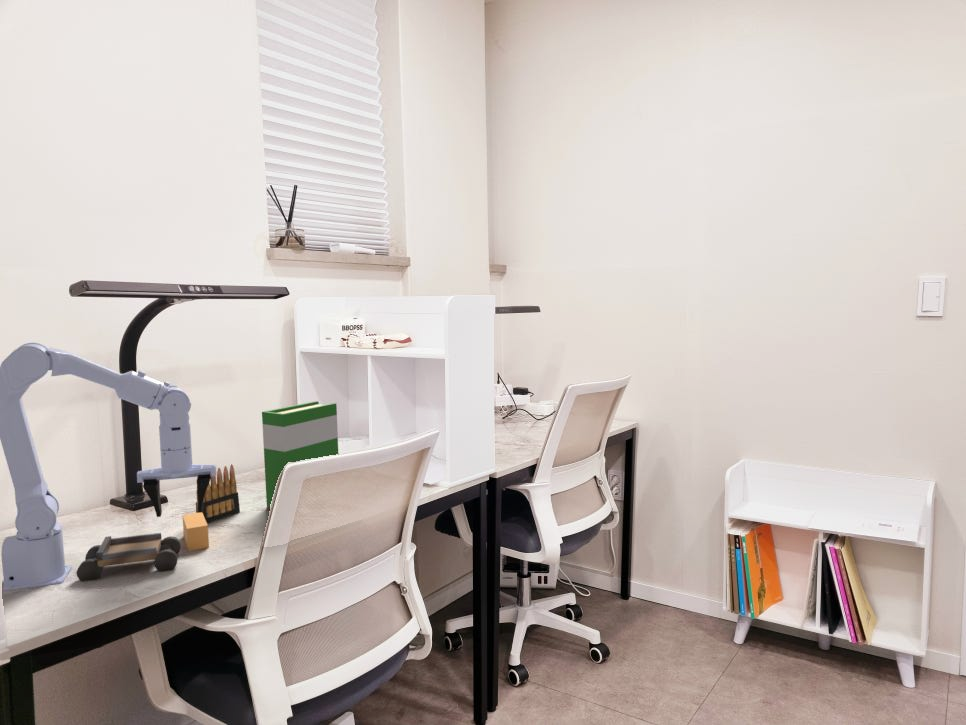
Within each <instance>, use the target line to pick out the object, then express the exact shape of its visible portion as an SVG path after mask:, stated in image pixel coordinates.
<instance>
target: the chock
mask: <svg viewBox="0 0 966 725" xmlns="http://www.w3.org/2000/svg"><path fill="white" fill-rule="evenodd" d="M182 525H183V526H182V527H183V538H184V542H185V544H186V547H187V550H188V552H189V551H195V550H201V549H202V550H203V549H207V548H210V541H209V540H210V538H209V525H208V523H207V522H206V520H205V518H204V515H203V513H202V512H201V513H196V512H193V513H188V514H187V513H186V514H182Z"/></svg>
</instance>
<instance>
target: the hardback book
mask: <svg viewBox="0 0 966 725" xmlns="http://www.w3.org/2000/svg"><path fill="white" fill-rule="evenodd" d="M337 413H338V406H337V403H336V402H333V403H327V404H320V403H319V401H317V400H315V401H309V402H305V403H299V404H295V405H290V406H289V405H288V406H285V407H279V408H275V409H271V410H269V409H268V410H265V411H261V422H262V424H261V425H262V438H263V439H262V440H263V456H264V457H263V458H264V462H263V463H264V476H265V480H264V481H265V495H266V496H265V499H266V500H265V501H266V508H267V509H269V508H270V504H271V501H272V497H273V494H274V490H275V486H276V483H277V480H278V477H279V475H280V473H281V471H282V470H283V468H284V466H285V465H286V464H287V463H288V462H296V461H300V460H305V459H311V458H318V457H323V456H329V455H336V454H338V455H339V440H338V439H339V438H338V434H339V433H338V432H339V431H338V414H337Z"/></svg>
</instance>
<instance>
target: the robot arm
mask: <svg viewBox="0 0 966 725" xmlns="http://www.w3.org/2000/svg"><path fill="white" fill-rule="evenodd" d="M49 371H51V374H50V376H51V377H56V376H57V377H58V376H59V377H60V376H65V375H72V376H75V377H78V378H80V379H81V378H82V379H84V380H87V381H89V382H92V383H95V384H99V385H102V386H104V387H107V388H110V389H113V390H114V391H115V393H116V395H117V397H118V399H120V400H122V401H125V402H128V403H131V404H134V405H137V406H139V407H142V408H145V409H147V410H150V411H153V410H158V412H159V426H158V431H159V433H158V436H159V446H160V448H159V449H160V461H161V462H160V466H161V467H159V468H153V469H146V470H138V471H137V472H136V482H137V484H139V483H141V484H143V485H142V488H143V490H144V492H146V494H147V496H148V497H149V499H150V501H151V504H152V505H153V509H154V512H155V515H156V518H160V517H161V516H162V514H163V513H162V512H163V510H162V502H161V501H162V500H161V488H160V486H161V485H160V484H161V483H160V482H161V481H163V480H175V479H187V478H196V477H198V478H196V491H197V490H198V513H201V512H202V510H203V499H204V495H205V492H206V489H207V487H208V485H209V483H210V482H211V476H216V477H217V464H193V451H192V435H191V434H192V433H191V423H190V415H189V412H190V411H191V407H192V403H191V401H190V398H189V396H188V395H187V393H186V392H185V391H184V390H183V389H181V388H179V387H178V386H176V385H171V383H170V382H169V381H164V382H161V381H159V380H156V379H155V378H151V377H149V376H147V375H146V374H147V373H146V372H145V371H142V370H138V371H137V372H136V371H134V370H129V371H127V372H125V373H119V372H117V371H115V370H114V369H113V370H112V369H110V368H108V367H105V366H104V365H102V364H98V363H96V362H94V361H92V360H89V359H87V358H84V357H82V356H79V355H77V354H74V353H72V352H70V351H66V350H63V349H59V348H56V347H51V346H49V347H46V345H43V344H41V343H39V342H26V343H24V344H22V345H20V346H19V347H17V348H15V349H13V351H12V352H11V353H10V354H9V355H8V356H7V357H5V358H4V359H3V361H2V362H1V363H0V443H1V447H2V450H3V453H4V458H5V460H6V464H7V469H8V470H9V475H10V478H11V481H12V484H13V488H14V497H15V498H14V499H15V505H16V508H17V515H16V517H15V519H14V524H15V528H16V530H17V532H16V534H15V535H10V536H6V537H4V539H3V542H2V544H1V545H2V546H1V551H0V552H1V554H0V555H1V565H2V566H1V569H2V576H3V590H2V591H11V590H18V589H19V590H20V589H28V588H34V587H43V586H50V585H57V584H58V585H59V584H62V583H64V582H65V581H66V578H67V577H68V575H69V574H70V572H71V570H72V568H73V565H71V564H70V565H66V560H65V559H66V558H65V548H64V537H63V526H62V525H61V524H59V522H57V516H58V513H59V511H60V503H59V500H58V499H57V497H55V496H54V494H52V492H50V489H49V487H48V484H47V482H46V480H45V478H44V475H43V471H42V468H41V464H40V460H39V456H38V454H37V449H36V446H35V442H34V439H33V436H32V432H31V428H30V424H29V420H28V416H27V414H26V409H25V407H24V403H23V399H22V397H23V396H24V394H25V393H26V392H27V391H28V390H29V389H30V386H32V385H33V384H34V383H36V382H38V381H39V380H40V379H42V378H43V377H45V375H46V374H47V373H49Z"/></svg>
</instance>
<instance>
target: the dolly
mask: <svg viewBox="0 0 966 725" xmlns="http://www.w3.org/2000/svg"><path fill="white" fill-rule="evenodd" d="M181 546H182V544H181V541H180V539H179V538H177V537H175V536H167V537H164V538H163V539H162V532H155V533H148V534H140V535H139V534H138V535H130V536H122V537H112V535H111V536H109V535H108V536H105V537H104V539H103V540H102V542H101V544H97V545H94V546H91V547H90V548H89V549H88V550H87V552H86V553H85V558H84V559H85V560H84V561H82V562H81V563H80V564H79V566H78V568H77V570H76V575H77V576H76V577H77V579H78V580H79V581H81V582H90V581H91V582H92V581H97V580H98V579H99V578H100V577H101V575H102V573H103V567H107V566H109V567H110V566H115V565H125V564H131V563H133V564H134V563H141V562H147V561H153V560H154V562H153V565H154V568H155V569H156V570H157V571H158V572H161V573H162V572H169V571H173V570H174V569H175V568H176V566H177V564H178V560H179V558H178V555H179V553H180V551H181V548H182V547H181Z"/></svg>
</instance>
